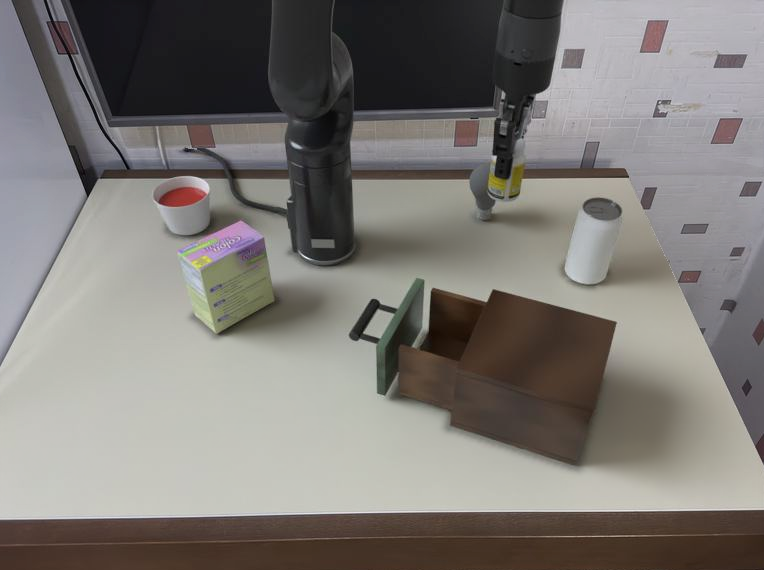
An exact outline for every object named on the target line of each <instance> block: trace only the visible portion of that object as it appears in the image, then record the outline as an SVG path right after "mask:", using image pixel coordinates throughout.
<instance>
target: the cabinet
mask: <svg viewBox="0 0 764 570" xmlns="http://www.w3.org/2000/svg"><path fill="white" fill-rule="evenodd" d="M486 302H487V303H486V305H485V307H484V309H483V311H482V314H481V316H480V318H479V320H478V322H477V324H476V327H475V329H474V331H473V333H472V335H471V337H470V340H469V342H468V344H467V346H466V348H465V350H464V353H463V355H462V357H461V359H460V361H459V363H458V366H457V368H456V376H455V385H454V394H453V404H452V410H451V413H450V414H451V415H450V423H449V426H450V427H453V428H456V429H459V430H463V431H465V432H469V433H471V434H475V435H479V436H481V437H484V438H487V439H490V440H494V441H496V442H499V443H504V444H506V445H509V446H512V447H514V448H519V449H521V450H525V451H528V452H531V453H534V454H538V455H541V456H544V457H546V458H550V459H552V460H556V461H559V462H562V463H565V464H569V465H571V466H574V467H575V466H576V464H577V461H578V458H579V455H580V452H581V450H582V447H583V444H584V441H585V438H586V435H587V432H588V430H589V427H590V424H591V420H592V419H593V416H594V413H595V410H596V406H597V403H598V398H599V395H600V391H601V387H602V383H603V379H604V375H605V371H606V367H607V363H608V360H609V355H610V351H611V347H612V344H613V339H614V336H615V331H616V327H617V323H618V322H617V321H616V320H612V319H608V318H604V317H600V316H597V315H594V314H593V315H592V314H589V313H585V312H581V311H577V310H574V309H570V308H566V307H563V306H559V305H555V304H551V303H547V302H544V301H539V300H537V299H533V298H528V297H525V296H521V295H517V294H513V293H510V292H506V291H502V290H499V289H495V288H493V289H492V290H491V292H490V294H489V297H488V298H487V301H486Z"/></svg>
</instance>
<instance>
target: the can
mask: <svg viewBox="0 0 764 570" xmlns="http://www.w3.org/2000/svg"><path fill="white" fill-rule="evenodd" d="M622 215H623V209H622V206H621V205H620V204H619V203H618V202H616V201H614V200H613V199H610V198H607V197H599V196H598V197H597V196H596V197H590V198H588V199H586V200H585V201H584V202H583V204H582V207H581V208H580V209H579V210H578V212H577V214H576V219H575V221H574V227H573V232H572V235H571V237H570V238H571V239H570V242H569V247H568V251H567V255H566V259H565V264H564V273H565V274H566V275H567V277H568V278H569V279H570V280H572V281H573V282H575V283H577V284H580V285H584V286H585V285H586V286H592V285H596V284H600V283H601V282H602V281H604V280H605V278H606V277H607V274H608V271H609V268H610V265H611V261H612V258H613V255H614V251H615V248H616V244H617V242H618V238H619V236H620V235H619V234H620V232H621V228H622V225H623V217H622Z"/></svg>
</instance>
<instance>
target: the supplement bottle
mask: <svg viewBox="0 0 764 570" xmlns="http://www.w3.org/2000/svg"><path fill="white" fill-rule="evenodd" d="M525 148H526V141H525V139H522V138H520V139H519V140H517V145H516V149H515V151H516V153H515V155H514V158H513V164H512V170H511V176H510V177H509V179H508V180H505V179H501V178H497V177H495V176H494V172H495V165H496V158H497V156H493V155H492V154H491V159H490V163H491V165H490V173H489V181H488V189H487V192H488V195H489V196H490V197H491V198H492V199H494V200H496V201H495V202H501V203H508V202H509V203H511V202H514V201H516V200H518V199H519V197H520V194H521V189H522V182H523V178H524V171H525V165H526V154H525Z"/></svg>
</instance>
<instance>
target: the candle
mask: <svg viewBox="0 0 764 570" xmlns="http://www.w3.org/2000/svg"><path fill="white" fill-rule="evenodd" d="M151 198H152V201H153V202H154V204H155V206H156V208H157V210H158V211H159V213H160V215H161V218H162V219H163V222H164V223H165V225H166V227H167V229H168V230H169V231H170V232H171V233H173V234H175V235H179V236H193V235H197V234H199V233H202V232H203V231H204V230H206V229H207V228H208V226H209V225H210V223H211V189H210V185H209V183H208V182H207V181H206V180H204V179H203V178H200V177H197V176H191V175H183V176H176V177H171V178H168V179H166V180H164V181H162V182H160V183H159V184H157V185H156V186H155V187H154V188H153V189H152V193H151Z"/></svg>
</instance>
